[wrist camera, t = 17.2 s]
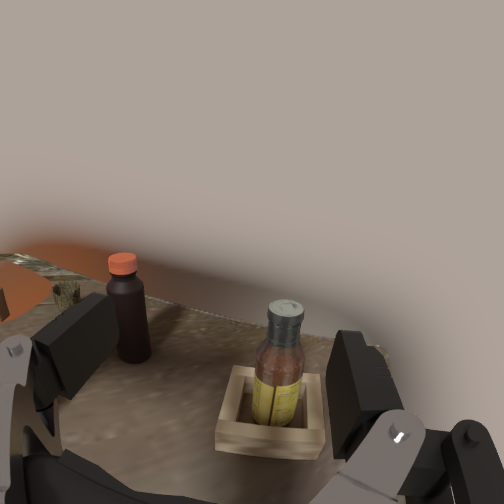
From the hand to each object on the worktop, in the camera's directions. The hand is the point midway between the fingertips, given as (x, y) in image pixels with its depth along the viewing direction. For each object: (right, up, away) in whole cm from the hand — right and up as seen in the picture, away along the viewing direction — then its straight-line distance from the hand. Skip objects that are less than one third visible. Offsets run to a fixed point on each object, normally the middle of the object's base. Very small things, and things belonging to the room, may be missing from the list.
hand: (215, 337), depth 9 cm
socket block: (+4, -23, +28) cm, 36 cm away
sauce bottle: (+4, -22, +28) cm, 36 cm away
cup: (-43, -13, +48) cm, 65 cm away
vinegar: (-22, -17, +40) cm, 48 cm away
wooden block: (-63, -14, +39) cm, 75 cm away
